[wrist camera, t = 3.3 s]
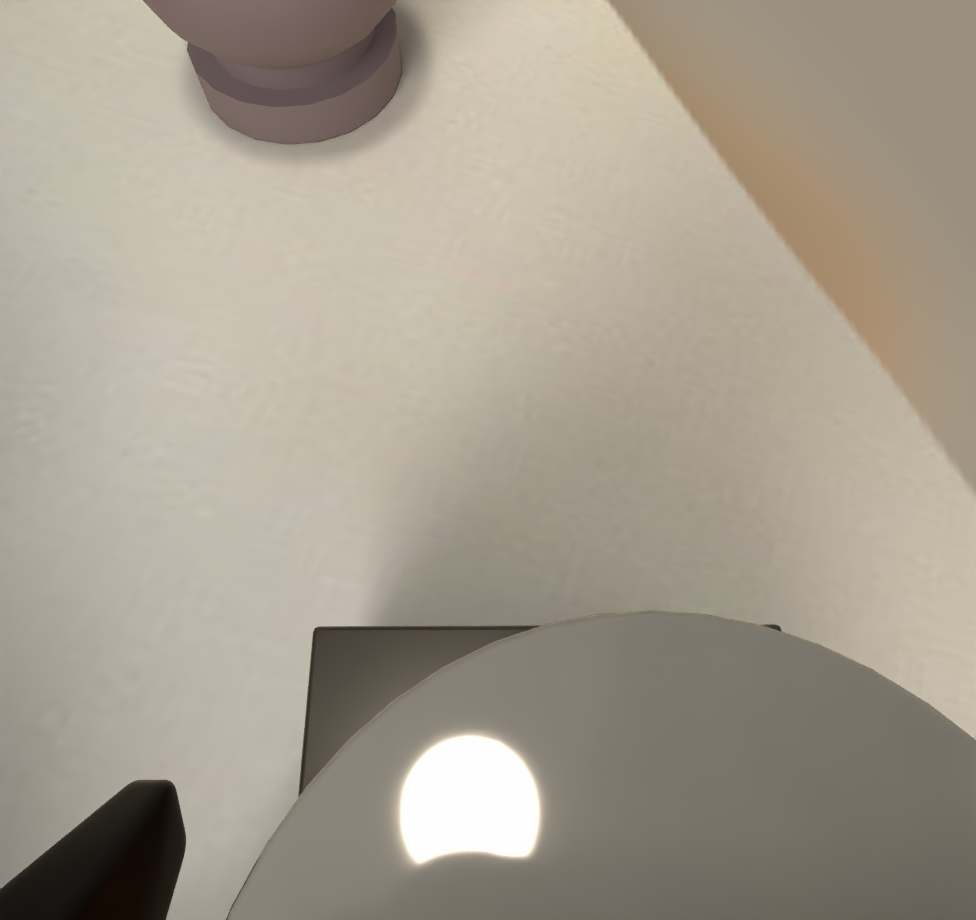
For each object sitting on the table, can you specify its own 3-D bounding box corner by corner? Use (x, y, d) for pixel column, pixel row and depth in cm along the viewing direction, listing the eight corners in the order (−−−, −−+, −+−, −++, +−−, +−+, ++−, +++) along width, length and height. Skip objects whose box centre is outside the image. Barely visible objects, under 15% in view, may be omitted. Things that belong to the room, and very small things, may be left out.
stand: (772, 1120, 13) (884, 1257, 9) (321, 1122, 13) (254, 1261, 9) (715, 657, 16) (782, 623, 12) (352, 659, 16) (312, 625, 12)
